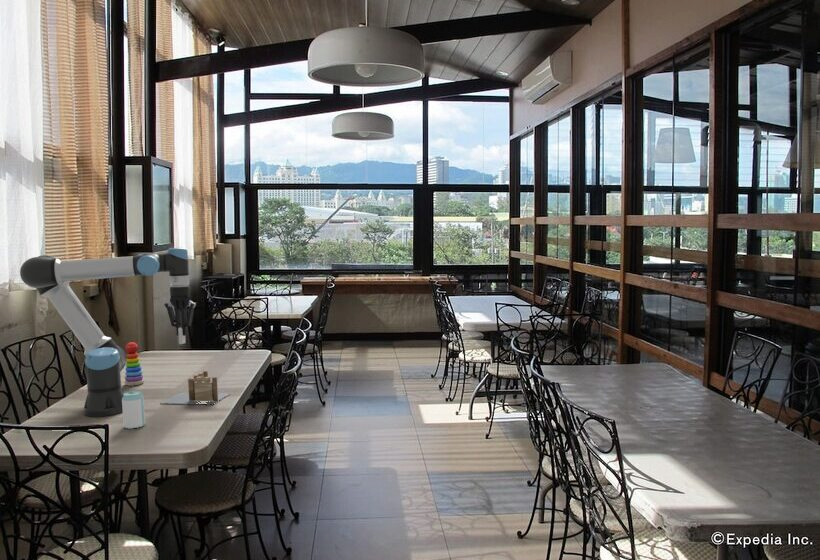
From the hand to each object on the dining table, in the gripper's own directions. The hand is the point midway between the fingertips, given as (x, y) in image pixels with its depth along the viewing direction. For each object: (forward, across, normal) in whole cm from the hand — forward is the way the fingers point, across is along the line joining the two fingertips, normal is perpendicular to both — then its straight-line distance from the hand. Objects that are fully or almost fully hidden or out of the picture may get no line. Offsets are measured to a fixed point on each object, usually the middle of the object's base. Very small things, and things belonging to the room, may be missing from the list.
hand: (182, 343), depth 273 cm
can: (+22, +2, -41) cm, 46 cm away
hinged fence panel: (+21, +8, -2) cm, 22 cm away
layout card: (+22, +7, -5) cm, 23 cm away
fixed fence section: (+22, +12, -8) cm, 26 cm away
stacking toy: (+22, -33, +17) cm, 43 cm away
